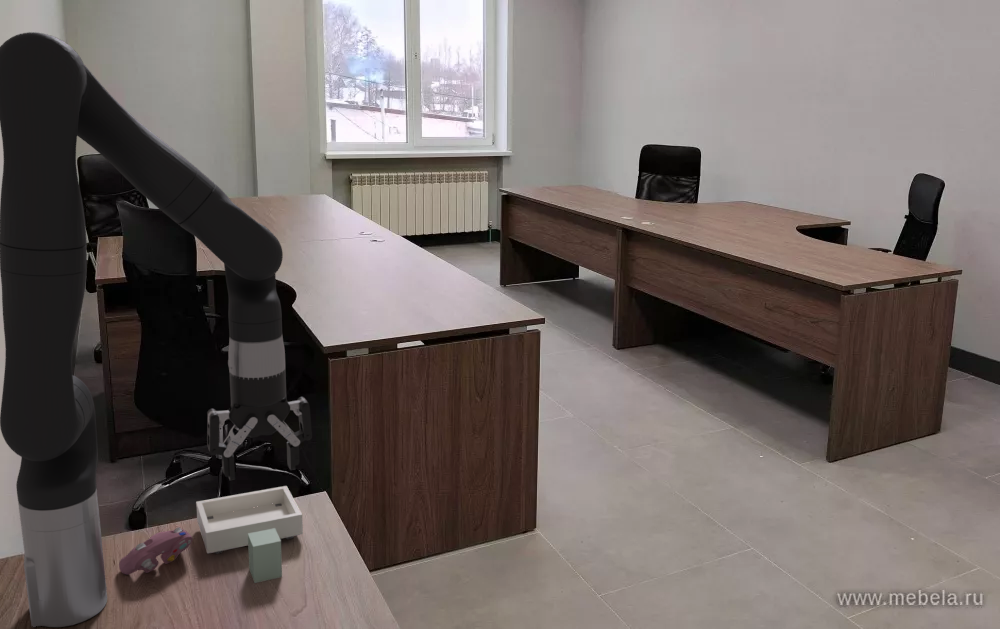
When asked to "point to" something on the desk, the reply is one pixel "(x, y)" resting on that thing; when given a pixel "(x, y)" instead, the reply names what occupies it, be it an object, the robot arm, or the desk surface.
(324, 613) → the desk surface
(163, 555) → the video game controller
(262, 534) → the sage block
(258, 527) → the white planter box
